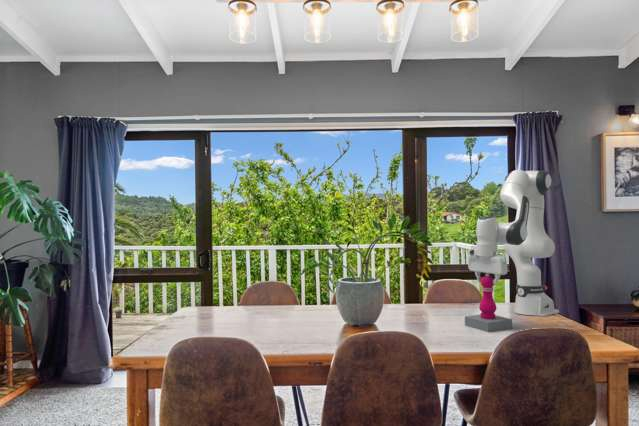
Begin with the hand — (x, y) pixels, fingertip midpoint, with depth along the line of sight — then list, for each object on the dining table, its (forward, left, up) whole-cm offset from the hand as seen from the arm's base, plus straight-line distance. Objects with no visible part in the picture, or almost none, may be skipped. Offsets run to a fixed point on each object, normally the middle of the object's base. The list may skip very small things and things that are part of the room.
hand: (487, 282), depth 210 cm
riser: (0, 0, -20) cm, 20 cm away
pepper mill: (0, 0, -16) cm, 16 cm away
